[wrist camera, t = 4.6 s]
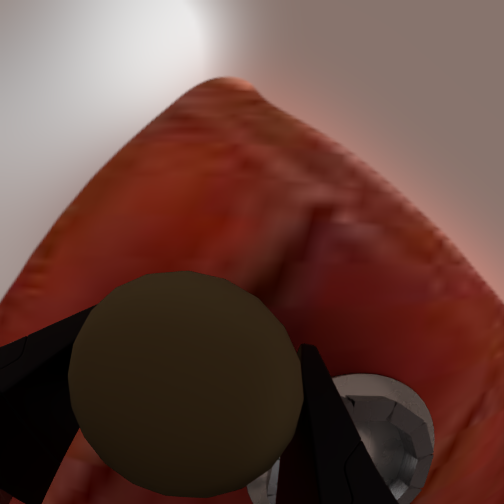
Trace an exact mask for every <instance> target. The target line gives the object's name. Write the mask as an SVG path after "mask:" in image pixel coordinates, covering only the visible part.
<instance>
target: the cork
mask: <svg viewBox="0 0 504 504" xmlns="http://www.w3.org/2000/svg"><path fill="white" fill-rule="evenodd" d="M68 382H69V391H70V399H71V407H72V409H73V412H74V414H75V417H76V419H77V422H78V424H79V426H80V429H81V431H82V433H83V435H84V437H85V439H86V440H87V441H88V443H89V444H90V445H91V447H92V448H93V449H94V450H95V452H96V453H97V454H98V455H99V457H100V458H101V459H102V460H103V461H104V463H105V464H107V465H108V466H109V467H110V468H112V469H113V470H115V471H116V472H117V473H119V474H120V475H121V476H123V477H124V478H126V479H127V480H128V481H130V482H131V483H133V484H135V485H138V486H140V487H143V488H146V489H148V490H151V491H154V492H157V493H160V494H163V495H166V496H178V497H197V498H208V497H213V496H217V495H220V494H224V493H228V492H231V491H235V490H238V489H242V488H243V487H245V486H246V485H248V484H249V483H251V482H252V481H254V480H255V479H257V478H258V477H260V476H261V475H263V474H264V473H266V472H267V471H268V470H270V469H271V468H272V467H273V465H274V464H275V463H276V461H277V460H278V458H279V457H280V456H281V454H282V453H283V451H284V450H285V449H286V447H287V446H288V444H289V443H290V441H291V440H292V438H293V436H294V434H295V431H296V427H297V424H298V420H299V416H300V412H301V408H302V404H303V400H304V395H303V384H302V374H301V364H300V360H299V358H298V356H297V353H296V351H295V349H294V347H293V345H292V342H291V340H290V338H289V336H288V334H287V331H286V329H285V327H284V326H283V325H282V324H281V323H280V321H279V320H278V319H277V318H276V317H275V316H274V315H273V314H272V313H271V312H270V311H269V309H268V308H267V307H266V306H265V305H264V304H263V303H262V302H261V301H260V300H259V298H257V297H255V296H254V295H252V294H250V293H248V292H247V291H245V290H243V289H241V288H240V287H238V286H236V285H235V284H233V283H231V282H229V281H228V280H226V279H223V278H218V277H214V276H209V275H205V274H201V273H196V272H192V271H178V272H167V273H156V274H146V275H144V276H142V277H140V278H137V279H135V280H133V281H130V282H128V283H126V284H124V285H121V286H119V287H117V288H115V289H114V290H113V291H112V292H111V293H110V294H109V295H107V296H106V297H105V298H104V299H103V300H102V301H101V302H100V303H99V304H98V305H97V306H96V307H94V308H93V309H92V310H91V312H90V314H89V316H88V317H87V319H86V321H85V323H84V325H83V326H82V328H81V330H80V332H79V334H78V336H77V338H76V340H75V342H74V344H73V349H72V354H71V359H70V365H69V371H68Z"/></svg>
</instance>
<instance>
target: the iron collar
mask: <svg viewBox="0 0 504 504" xmlns="http://www.w3.org/2000/svg"><path fill="white" fill-rule="evenodd" d="M331 378H332V380H333V382H334V384H335V386H336V388H337V390H338V392H339V394H340V396H341V398H342V400H343V402H344V404H345V406H346V408H347V410H348V412H349V414H350V416H351V418H352V420H353V422H354V424H355V426H356V428H357V431H358V433H359V435H360V437H361V441H363V443H364V445H365V447H366V449H367V451H368V453H369V455H370V457H371V459H372V461H373V463H374V464H375V466H376V468H377V470H378V471H379V473H380V475H381V476H382V478H383V480H384V481H385V483H386V484H387V486H388V487H389V489H390V490H391V492H392V494H393V495H394V497H395V498H396V500H397V501H398V503H399V504H410V502H411V501H412V500H413V499H414V498H415V497H416V496H417V495H418V493H419V492H420V491H421V489H420V488H422V487H423V486H424V483H425V481H426V478H427V475H428V472H429V468H430V465H431V462H432V459H433V452H434V451H433V449H434V427H433V422H432V418H431V416H430V413H429V410H428V409H427V407H426V405H425V403H424V402H423V401H422V399H421V398H420V397H419V396H418V394H416V393H415V392H414V391H413V390H412V389H411V388H409V387H408V386H406V385H404V384H403V383H401V382H399V381H396V380H394V379H392V378H388V377H384V376H380V375H377V374H368V373H351V374H344V375H338V376H334V377H331ZM279 462H280V457H279V458H278V460H277V461H276V463H275V464H274V465H273V467H272V468H271V469H270V470H268V471H267V472H266V473H264V474H263V475H261V476H260V477H258V478H257V479H255V480H254V481H252V482H251V483H249V484H248V485H247V489H248V493H249V495H250V498H251V500H252V502H253V504H275V502H276V493H277V483H278V473H279Z"/></svg>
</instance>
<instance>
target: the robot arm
mask: <svg viewBox="0 0 504 504" xmlns="http://www.w3.org/2000/svg"><path fill="white" fill-rule="evenodd" d="M97 305H98V304H97ZM97 305H95V306H92V307H90V308H88V309H85V310H83V311H81V312H79V313H76V314H74V315H72V316H70V317H68V318H65V319H63V320H61V321H59V322H56V323H54V324H52V325H50V326H47V327H45V328H43V329H41V330H39V331H36V332H34V333H32V334H30V335H28V337H27V336H25V337H23V338H21V339H19V340H16V341H14V342H12V343H9V344H7V345H5V346H2V347H0V504H9V503H10V501H11V499H12V497H15V498H16V499H18V500H20V501H21V502H23V503H25V504H42V502H43V500H44V497H45V495H46V493H47V491H48V489H49V487H50V485H51V483H52V481H53V479H54V477H55V474H56V472H57V470H58V468H59V466H60V463H61V462H62V460H63V458H64V456H65V454H66V452H67V450H68V448H69V446H70V445H71V443H72V441H73V439H74V437H75V435H76V433H77V431H78V429H79V428H80V426H79V424H78V422H77V419H76V417H75V414H74V412H73V409H72V407H71V399H70V391H69V382H68V371H69V365H70V359H71V354H72V349H73V344H74V342H75V340H76V338H77V336H78V334H79V332H80V330H81V328H82V326H83V325H84V323H85V321H86V319H87V317H88V316H89V314H90V312H91V310H92V309H93V308H94V307H96V306H97ZM297 356H298V358H299V360H300V364H301V374H302V384H303V395H304V400H303V404H302V408H301V412H300V416H299V420H298V424H297V427H296V431H295V434H294V436H293V438H292V440H291V441H290V443H289V444H288V446H287V447H286V449H285V450H284V451H283V453H282V454H281V456H280V462H279V473H278V483H277V493H276V502H275V504H399V503H398V501H397V500H396V498H395V497H394V495H393V494H392V492H391V490H390V489H389V487H388V486H387V484H386V483H385V481H384V480H383V478H382V476H381V475H380V473H379V471H378V470H377V468H376V466H375V464H374V463H373V461H372V459H371V457H370V455H369V453H368V451H367V449H366V447H365V445H364V443H363V441H361V437H360V435H359V433H358V431H357V428H356V426H355V424H354V422H353V420H352V418H351V416H350V414H349V412H348V410H347V408H346V406H345V404H344V402H343V400H342V398H341V396H340V394H339V392H338V390H337V388H336V386H335V384H334V382H333V380H332V378H331V376H330V374H329V372H328V370H327V368H326V366H325V364H324V362H323V360H322V358H321V356H320V354H319V352H318V350H317V348H316V346H314V345H310V344H305V343H303V344H301V345H300V348H299V350H298V353H297Z"/></svg>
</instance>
